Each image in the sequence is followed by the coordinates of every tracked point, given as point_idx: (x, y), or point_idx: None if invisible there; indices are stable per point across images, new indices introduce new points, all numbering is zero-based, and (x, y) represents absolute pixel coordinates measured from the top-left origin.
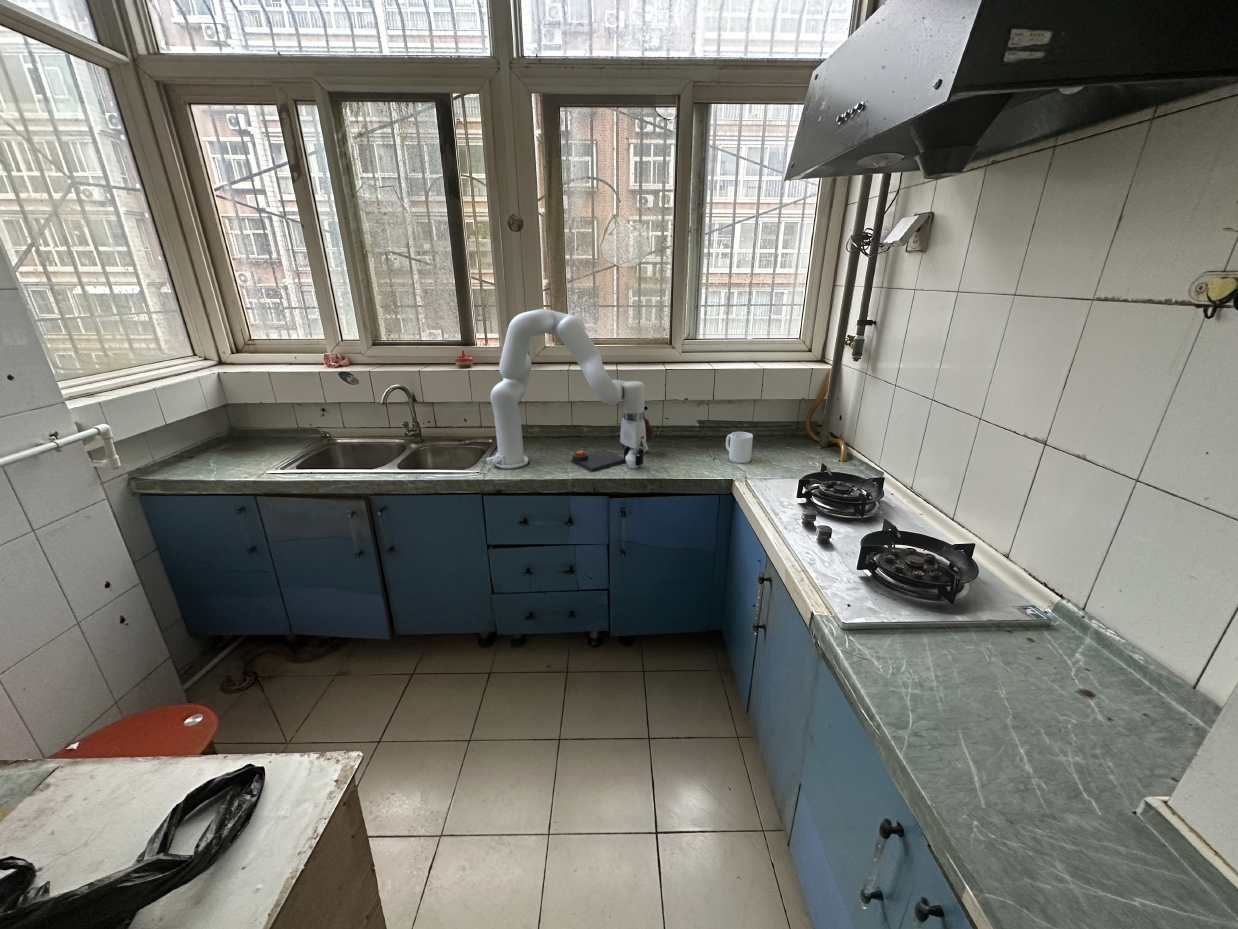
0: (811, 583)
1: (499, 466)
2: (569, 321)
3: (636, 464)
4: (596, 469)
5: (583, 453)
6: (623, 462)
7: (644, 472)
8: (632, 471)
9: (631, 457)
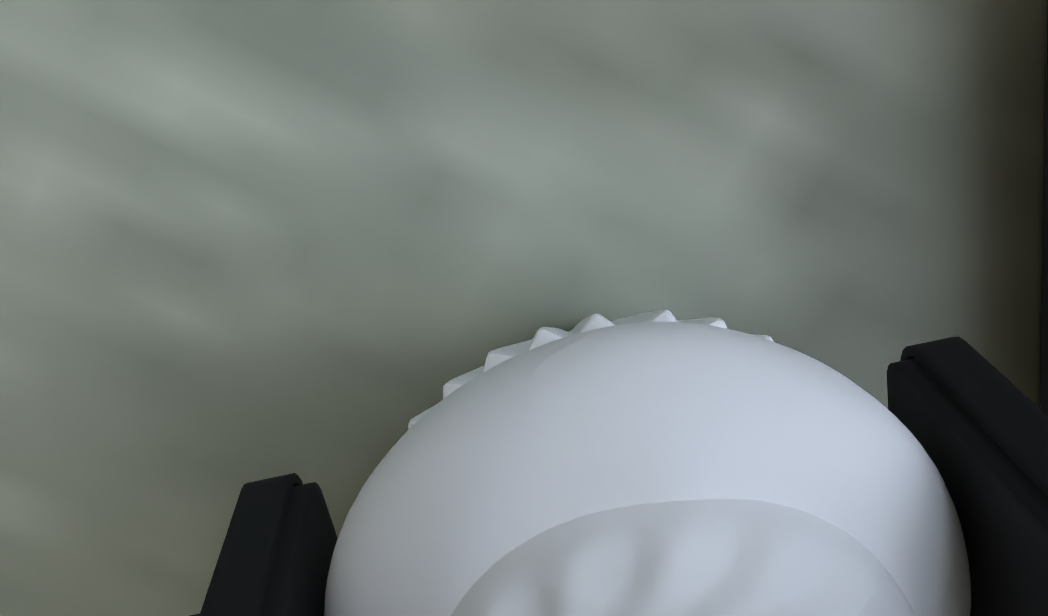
0: None
1: None
2: None
3: (240, 507)
4: None
5: None
6: (1046, 334)
7: (88, 524)
8: (293, 271)
9: (487, 562)
